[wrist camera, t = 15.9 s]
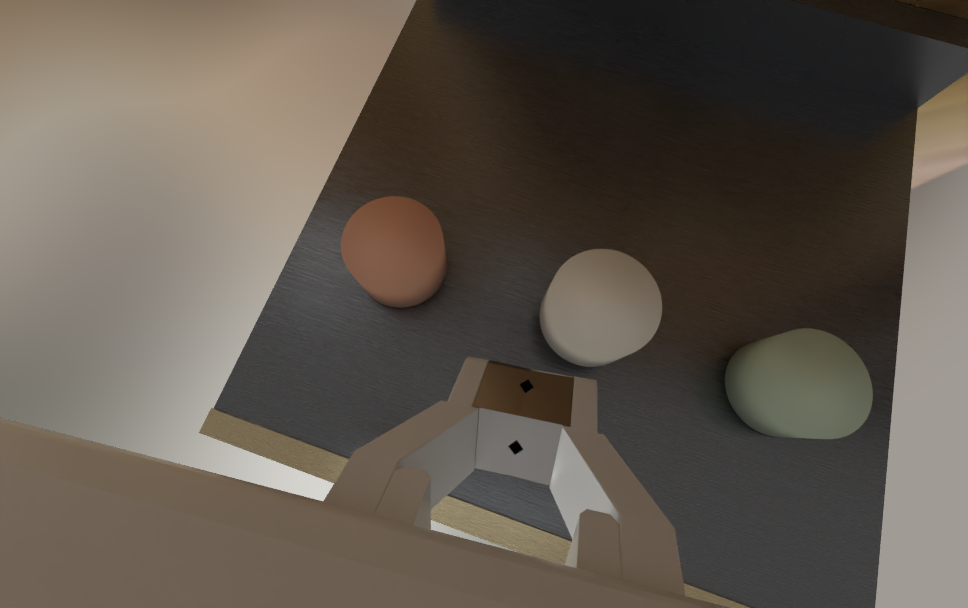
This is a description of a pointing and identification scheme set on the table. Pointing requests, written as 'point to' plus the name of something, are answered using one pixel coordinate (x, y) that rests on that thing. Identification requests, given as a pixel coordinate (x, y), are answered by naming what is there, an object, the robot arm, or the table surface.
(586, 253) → the cream button
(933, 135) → the table surface
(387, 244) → the terracotta button
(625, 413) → the button panel
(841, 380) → the sage button
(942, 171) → the table surface
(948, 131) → the table surface
